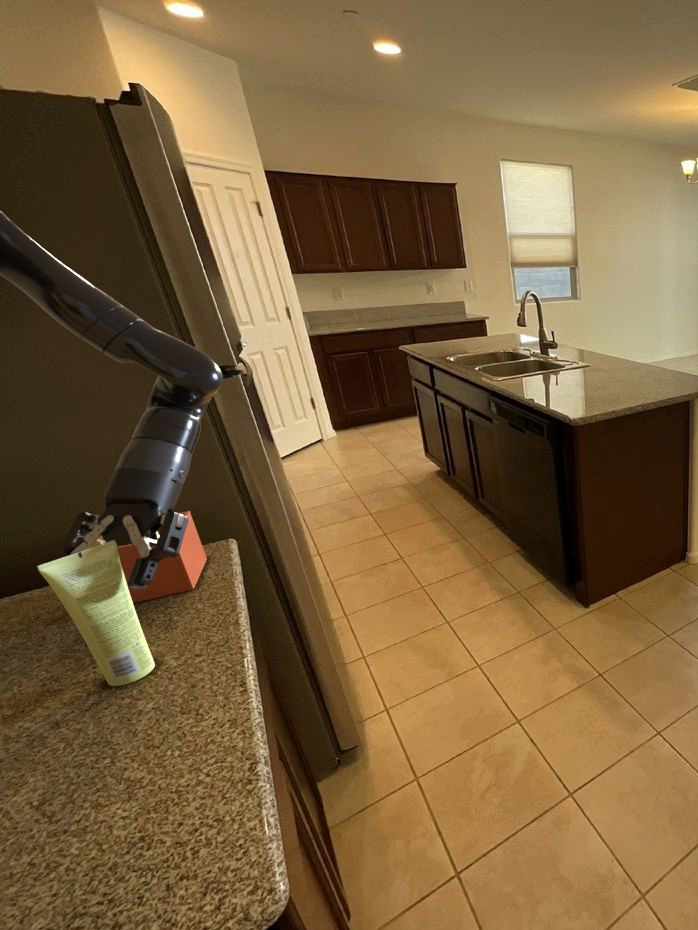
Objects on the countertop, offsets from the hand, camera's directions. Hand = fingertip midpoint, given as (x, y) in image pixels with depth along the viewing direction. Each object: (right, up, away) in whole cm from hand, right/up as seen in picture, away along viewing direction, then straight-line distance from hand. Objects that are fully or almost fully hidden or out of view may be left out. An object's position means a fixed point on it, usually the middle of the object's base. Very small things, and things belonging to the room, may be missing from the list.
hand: (104, 588), depth 69 cm
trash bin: (-17, -5, +25) cm, 31 cm away
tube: (0, -13, +4) cm, 14 cm away
